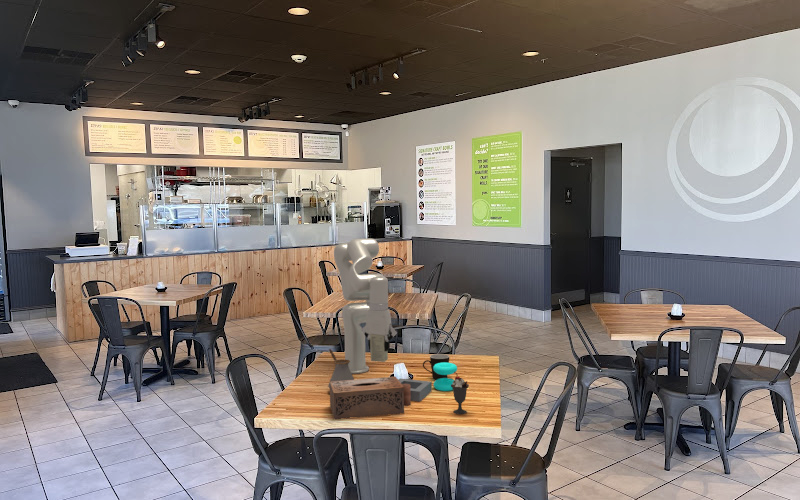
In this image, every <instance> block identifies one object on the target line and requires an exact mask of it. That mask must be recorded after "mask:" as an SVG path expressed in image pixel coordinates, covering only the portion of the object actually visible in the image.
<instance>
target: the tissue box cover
mask: <svg viewBox="0 0 800 500" xmlns="http://www.w3.org/2000/svg"><path fill="white" fill-rule="evenodd" d="M329 382H330V381H329ZM329 408H330V411H331V413H332V416H333V420H334V419H335V420H342V419H341V418H346V419H351V418H350V417H357V418H365V417H366V418H368V417H376V416H377V417H378V415H379V416H388V414H391V415H400V413H402V414H405V406H404V387H403V386H402V384H401V383H400V382H399V379H398V378H397V376H387V377H373V378H361V379H359V378H358V379H354V380H344V381H331V382H330V389H329ZM367 416H368V417H367Z"/></svg>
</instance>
